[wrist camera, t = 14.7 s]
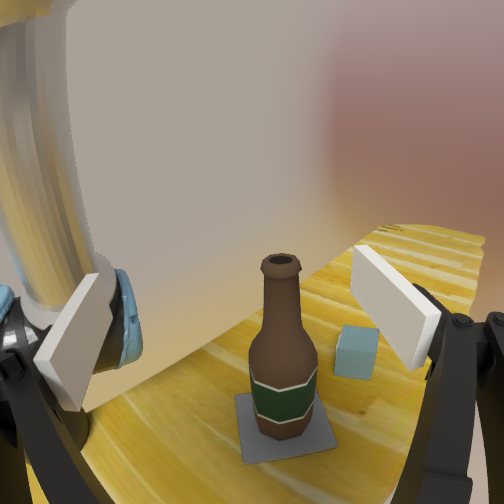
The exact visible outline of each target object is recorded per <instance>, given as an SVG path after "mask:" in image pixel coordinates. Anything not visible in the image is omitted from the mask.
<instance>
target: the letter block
mask: <svg viewBox="0 0 504 504" xmlns="http://www.w3.org/2000/svg"><path fill="white" fill-rule="evenodd" d="M378 336H379V330H378V329H372V328H364V327H357V326H349V325H343V329H342V333H340V336H339V339H338V343H337V346H336V360H335V369H334V375H336V376H342V377H349V378H355V379H362V380H370V378H371V374H372V370H373V366H374V361H375V357H376V353H377V344H378Z"/></svg>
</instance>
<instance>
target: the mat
mask: <svg viewBox="0 0 504 504" xmlns="http://www.w3.org/2000/svg"><path fill="white" fill-rule="evenodd" d="M235 402H236V411H237V419H238V427H239V435H240V442H241V450H242V458H243V464H244V465H245V464H254V463H261V462H268V461H275V460H281V459H286V458H292V457H297V456H302V455H307V454H312V453H316V452H321V451H325V450H329V449H333V448H337V445H338V444H337V441H336V439H335V436H334V434H333V431H332V429H331V426H330V423H329V421H328V418H327V416H326V413H325V410H324V408H323V405H322V403H321V400H320V398H319V395H318V393H317V390H316V387H315V396H314V405H313V413H312V417H311V421H310V422H309V424H308V425H307V427H306V429H305V430H304V432H303V433H302V435H301V436H298V437H294V438H290V439H286V440H282V441H278V440H276V439H273V438H271V437H269V436H266V435H264V434H262V433H260V431H259V428H258V425H257V421H256V418H255V414H254V409H253V400H252V393H247V394H239V395H235Z"/></svg>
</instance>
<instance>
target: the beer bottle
mask: <svg viewBox="0 0 504 504" xmlns="http://www.w3.org/2000/svg"><path fill="white" fill-rule="evenodd" d="M260 269H261V271H262V272H263V274H264V314H263V323H262V329H261V331H260V332H259V333H258V335H257V336H256V337H255V338H254V340H253V341H252V344H251V346H250V349H249V372H250V381H251V391H252V400H253V409H254V414H255V418H256V421H257V425H258V428H259V431H260V433H262V434H264V435H266V436H269V437H271V438H273V439H276V440H278V441H282V440H286V439H290V438H294V437H298V436H301V435H302V433H303V432H304V430H305V429H306V427H307V425H308V424H309V422H310V421H311V417H312V413H313V405H314V396H315V387H316V377H317V366H318V365H317V352H316V349H315V347H314V344H313V342H312V341H311V339H310V337H309V336H308V334H307V333H306V331H305V330H304V328H303V325H302V320H301V306H300V290H299V275H298V273H299V272H300V271H301V270H302V268H301V264H300V261H299V260H298V259H297V258H296V256H295V255H289V254H284V253H280V254H273V255H269V256H268V257H266V258H265V259H264V260H262V265H261V268H260Z"/></svg>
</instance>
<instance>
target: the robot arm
mask: <svg viewBox="0 0 504 504" xmlns="http://www.w3.org/2000/svg"><path fill="white" fill-rule="evenodd" d="M77 1H78V0H0V236H1V239H2V241H3V244H4V246H5V248H6V250H7V252H8V255H9V257H10V259H11V261H12V264H13V266H14V268H15V270H16V272H17V274H18V276H19V278H20V280H21V282H22V284H23V287H22V291H21V296H20V297H15V294H14V292H13V290H12V289H11V288H10V287H9V286H8V285H0V504H33V502H32V497H31V492H30V487H29V482H28V476H27V470H26V463H28V464H29V465H31V466H32V468H33V471H34V473H35V475H36V477H37V479H38V482H39V484H40V486H41V488H42V490H43V492H44V494H45V496H46V498H47V500H48V502H49V504H115V503H114V501H113V500H112V499H111V497H110V496H109V495H108V493H107V492H106V490H105V489H104V488H103V486H102V485H101V483H100V482H99V481H98V479H97V478H96V476H95V475H94V473H93V472H92V470H91V469H90V467H89V466H88V464H87V462H86V461H85V459H84V458H83V456H82V454H81V453H80V450H81V448H82V447H83V445H84V443H85V441H86V439H87V436H88V431H89V421H88V417H87V415H86V413H85V411H84V409H83V408H82V406H81V405H82V402H83V399H84V396H85V393H86V390H87V387H88V384H89V381H90V378H91V375H92V374H96V373H100V372H103V371H107V370H111V369H119V368H121V366H123V365H126V364H129V363H131V362H134V361H136V360H137V359H139V357H140V356H141V354H142V350H143V341H142V334H141V327H140V322H139V319H138V314H137V307H136V303H135V298H134V294H133V290H132V287H131V284H130V281H129V278H128V276H127V274H126V272H125V271H124V270H121V269H114V268H113V267H112V265H111V263H110V262H109V261H108V260H107V259H106V258H105V257H104V256H102V255H101V254H99V253H97V252H95V250H94V246H93V242H92V239H91V235H90V231H89V227H88V223H87V218H86V214H85V209H84V205H83V200H82V195H81V190H80V185H79V180H78V174H77V168H76V162H75V156H74V150H73V143H72V135H71V127H70V117H69V109H68V108H69V107H68V95H67V79H66V16H67V13H68V11H69V9H70V8H71V7H72V6H73V5H74V4H75V3H76V2H77ZM350 293H351V294H352V295H353V297H354V298H355V299H356V300H357V302H358V303H359V304H360V306H361V307H362V308H363V310H364V311H365V312H366V314H367V315H368V316H369V318H370V319H371V320H372V321H373V323H374V324H375V325H376V327H377V328H378V330H379V331H380V332H381V334H382V335H383V336H384V338H385V339H386V340H387V342H388V343H389V344H390V346H391V347H392V348H393V350H394V351H395V353H396V354H397V355H398V357H399V358H400V360H401V361H402V362H403V364H404V365H405V367H406V368H407V369H408V371H411V370H414V369H417V368H420V367H423V366H424V363H425V360H426V358H427V355H428V357H429V358H430V359H431V360H432V362H431V365H430V367H429V370H428V372H427V375H426V377H425V380H427V384H426V388H425V393H424V398H423V402H422V407H421V411H420V415H419V419H418V423H417V426H416V430H415V434H414V437H413V441H412V444H411V447H410V451H409V454H408V457H407V460H406V463H405V466H404V469H403V472H402V475H401V477H400V480H399V483H398V485H397V488H396V491H395V493H394V496H393V498H392V501H391V503H390V504H469V501H470V497H471V492H472V486H473V482H472V478H469V477H467V469H468V464H469V458H470V451H471V444H472V437H473V428H474V417H475V404H476V401H477V406H478V411H479V417H480V422H481V428H482V434H483V441H484V448H485V456H486V466H487V477H488V490H489V491H488V493H489V504H504V313H501V312H491V313H489V314H488V316H487V319H486V322H481V323H474V321H473V320H472V319H471V318H470V317H468V316H467V315H464V314H461V313H454V314H452V313H450V312H449V311H448V310H447V309H446V308H445V307H444V306H443V305H442V304H441V303H440V302H439V301H438V300H435V298H434V297H433V296H432V295H430V293H429V292H428V291H427V290H426V289H424V288H423V287H421V286H419V285H417V284H415V283H413V284H411V283H410V282H409V281H408V280H406V279H405V278H404V277H403V276H402V275H401V274H400V273H399V272H398V271H396V270H395V269H394V268H393V267H392V266H391V265H390V264H388V263H387V262H386V261H385V260H384V259H383V258H382V257H380V256H379V255H378V254H377V253H376V252H375V251H374V250H372V249H371V248H370V247H369V246H368V245H359V246H354V251H353V263H352V274H351V284H350ZM25 462H26V463H25Z"/></svg>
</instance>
